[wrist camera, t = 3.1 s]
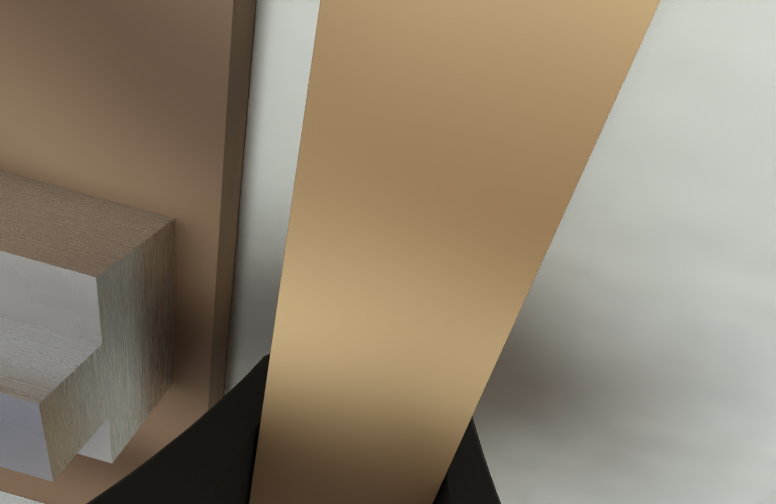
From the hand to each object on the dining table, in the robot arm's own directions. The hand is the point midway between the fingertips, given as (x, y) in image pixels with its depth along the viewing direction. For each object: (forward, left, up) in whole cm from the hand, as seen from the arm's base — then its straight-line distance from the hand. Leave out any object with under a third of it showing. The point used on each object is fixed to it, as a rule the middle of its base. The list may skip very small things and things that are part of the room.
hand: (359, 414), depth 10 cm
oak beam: (0, 0, -2) cm, 2 cm away
